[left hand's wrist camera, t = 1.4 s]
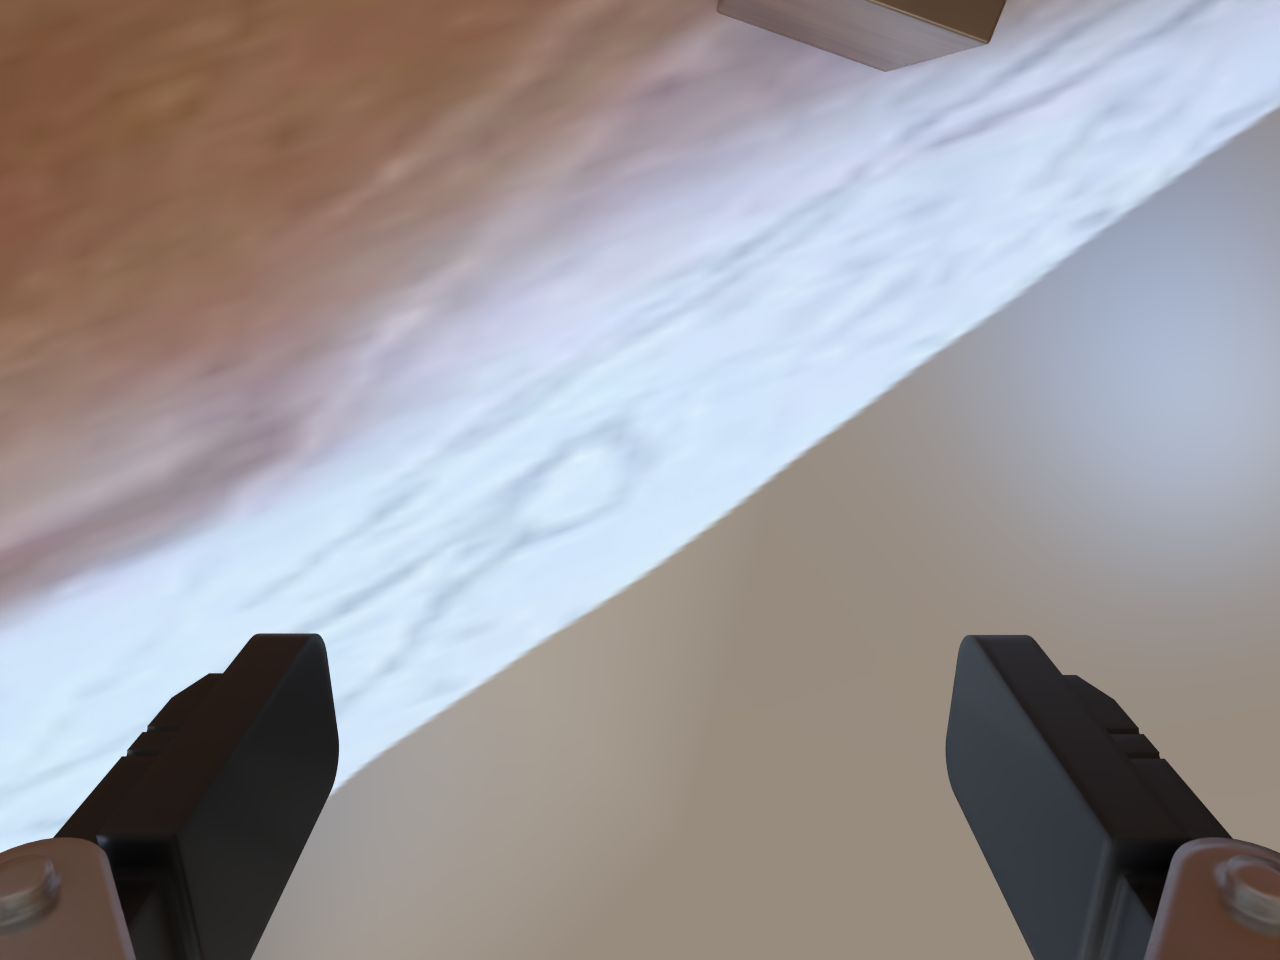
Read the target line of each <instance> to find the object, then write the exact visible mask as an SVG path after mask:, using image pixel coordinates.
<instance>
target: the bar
mask: <svg viewBox="0 0 1280 960" xmlns="http://www.w3.org/2000/svg"><path fill="white" fill-rule="evenodd" d="M1005 3H1006V0H719V3H718V7H717V12H718V13H720V14H723V15H726V16H729V17H732V18H735V19H737V20H740V21H743V22H746V23H749V24H752V25H754V26H757V27H760V28H763V29H766V30H769V31H771V32H774V33H777V34H780V35H783V36H786V37H788V38H791V39H794V40H797V41H800V42H802V43H805V44H808V45H811V46H814V47H817V48H819V49H822V50H825V51H828V52H831V53H834V54H836V55H839V56H842V57H845V58H848V59H851V60H853V61H856V62H859V63H862V64H865V65H868V66H870V67H873V68H876V69H879V70H882V71H884V72H886V71H890V70H894V69H898V68H901V67H905V66H909V65H912V64H916V63H920V62H923V61H927V60H931V59H934V58H938V57H942V56H945V55H949V54H953V53H956V52H960V51H964V50H967V49H971V48H975V47H978V46H982V45H986V44H988V43H989V42H990V40H991V38H992V35H993V33H994V30H995V28H996V25H997V23H998V20H999V18H1000V15H1001V13H1002V10H1003V8H1004V5H1005Z"/></svg>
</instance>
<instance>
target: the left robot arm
mask: <svg viewBox="0 0 1280 960" xmlns="http://www.w3.org/2000/svg"><path fill="white" fill-rule="evenodd" d="M147 727H148V729H147V732H142V733H141V735H140V736H139V737H138V738H137V739H136V741H135V742H134V743H133V744H132V745H131V746H130V748H129V749H128V750H127V756H126V757H121V758H120V759H119V761H118V762H117V763H116V764H115V765H114V767H113V768H112V769H111V770H110V771H109V772H108V774H107V775H106V776H105V777H104V778H103V780H102V781H101V782H100V783H99V784H98V785H97V787H96V788H95V789H94V790H93V791H92V793H91V794H90V795H89V796H88V797H87V798H86V800H85V801H84V802H83V803H82V804H81V806H80V807H79V808H78V809H77V810H76V811H75V813H74V814H73V815H72V816H71V817H70V819H69V820H68V821H67V822H66V823H65V824H64V826H63V827H62V828H61V829H60V830H59V832H58V833H57V834H56V835H55V836H54V837H53V838H51V839H44V840H39V841H35V842H30V843H26V844H23V845H20V846H17V847H14V848H11V849H9V850H7V851H4V852H2V853H0V960H250V959H251V957H252V955H253V953H254V951H255V949H256V947H257V945H258V942H259V940H260V938H261V936H262V934H263V932H264V930H265V928H266V926H267V924H268V922H269V920H270V917H271V915H272V913H273V911H274V909H275V907H276V905H277V903H278V901H279V899H280V896H281V894H282V892H283V890H284V888H285V886H286V884H287V882H288V880H289V878H290V876H291V873H292V871H293V869H294V867H295V865H296V863H297V861H298V859H299V857H300V855H301V853H302V850H303V848H304V846H305V844H306V842H307V840H308V838H309V836H310V834H311V832H312V830H313V827H314V825H315V823H316V821H317V819H318V817H319V815H320V813H321V811H322V809H323V807H324V804H325V802H326V800H327V798H328V796H329V794H330V792H331V789H332V787H333V784H334V781H335V777H336V772H337V766H338V757H339V739H338V730H337V723H336V716H335V709H334V702H333V694H332V687H331V680H330V673H329V666H328V659H327V652H326V647H325V644H324V641H323V639H322V637H321V636H320V635H319V634H256V635H254V636H253V637H252V638H251V639H250V640H249V641H248V642H247V644H246V645H245V646H244V648H243V649H242V650H241V651H240V653H239V654H238V655H237V656H236V658H235V659H234V660H233V662H232V663H231V664H230V665H229V667H228V668H227V669H226V670H225V672H224V673H209V674H208V675H206V676H205V677H203V678H201V679H200V680H198V681H197V682H195V683H194V684H192V685H191V686H189V687H188V688H186V689H184V690H183V691H181V692H180V693H178V694H177V695H175V696H174V697H172V698H171V699H170V700H169V702H168V703H167V704H166V705H165V706H164V707H163V709H162V710H161V711H160V712H159V713H158V715H157V716H156V717H155V718H154V719H153V720H152V722H151V723H150V724H149V725H148V726H147ZM946 763H947V770H948V776H949V780H950V784H951V787H952V790H953V792H954V794H955V796H956V798H957V801H958V803H959V805H960V807H961V809H962V811H963V813H964V815H965V817H966V819H967V821H968V823H969V825H970V827H971V830H972V832H973V834H974V836H975V838H976V840H977V842H978V844H979V846H980V848H981V850H982V852H983V854H984V856H985V858H986V861H987V863H988V865H989V867H990V869H991V871H992V873H993V875H994V877H995V879H996V881H997V883H998V885H999V887H1000V889H1001V891H1002V894H1003V896H1004V898H1005V900H1006V902H1007V904H1008V906H1009V908H1010V910H1011V912H1012V914H1013V916H1014V918H1015V920H1016V922H1017V925H1018V926H1019V929H1020V931H1021V933H1022V935H1023V937H1024V939H1025V941H1026V943H1027V945H1028V947H1029V949H1030V951H1031V954H1032V956H1033V958H1034V960H1280V853H1278V852H1276V851H1273V850H1271V849H1269V848H1266V847H1262V846H1260V845H1257V844H1254V843H1250V842H1245V841H1241V840H1236V839H1233V838H1232V837H1231V836H1230V835H1229V834H1228V832H1227V831H1226V830H1225V829H1224V828H1223V827H1222V825H1221V824H1220V823H1219V822H1218V821H1217V820H1216V818H1215V817H1214V816H1213V815H1212V814H1211V813H1210V811H1209V810H1208V809H1207V808H1206V807H1205V805H1204V804H1203V803H1202V802H1201V801H1200V800H1199V798H1198V797H1197V796H1196V795H1195V794H1194V793H1193V791H1192V790H1191V789H1190V788H1189V787H1188V786H1187V784H1186V783H1185V782H1184V781H1183V780H1182V779H1181V777H1180V776H1179V775H1178V774H1177V773H1176V771H1175V770H1174V769H1173V768H1172V767H1171V766H1170V764H1169V763H1168V762H1167V761H1166V760H1165V759H1160V757H1159V752H1158V750H1157V749H1156V748H1155V747H1154V746H1153V745H1152V743H1151V742H1150V741H1149V740H1148V739H1147V738H1146V736H1145V735H1144V734H1139V728H1138V727H1137V726H1136V725H1135V724H1134V722H1133V721H1132V720H1131V719H1130V718H1129V717H1128V715H1127V714H1126V713H1125V712H1124V711H1123V709H1122V708H1121V707H1120V706H1119V705H1118V704H1117V702H1116V701H1115V700H1114V699H1112V698H1111V697H1109V696H1108V695H1106V694H1105V693H1103V692H1102V691H1100V690H1098V689H1097V688H1095V687H1094V686H1092V685H1091V684H1089V683H1088V682H1086V681H1085V680H1083V679H1081V678H1080V677H1078V676H1077V675H1062V674H1061V672H1060V671H1059V670H1058V669H1057V668H1056V666H1055V665H1054V664H1053V662H1052V661H1051V660H1050V659H1049V657H1048V656H1047V655H1046V654H1045V652H1044V651H1043V650H1042V649H1041V647H1040V646H1039V645H1038V644H1037V642H1036V641H1035V640H1034V639H1033V638H1032V637H1030V636H1028V635H968V636H966V637H964V639H963V640H962V642H961V645H960V648H959V652H958V659H957V666H956V673H955V680H954V687H953V694H952V701H951V708H950V715H949V722H948V729H947V737H946Z"/></svg>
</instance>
